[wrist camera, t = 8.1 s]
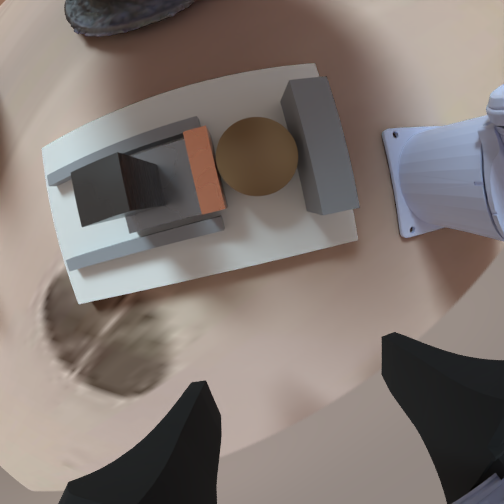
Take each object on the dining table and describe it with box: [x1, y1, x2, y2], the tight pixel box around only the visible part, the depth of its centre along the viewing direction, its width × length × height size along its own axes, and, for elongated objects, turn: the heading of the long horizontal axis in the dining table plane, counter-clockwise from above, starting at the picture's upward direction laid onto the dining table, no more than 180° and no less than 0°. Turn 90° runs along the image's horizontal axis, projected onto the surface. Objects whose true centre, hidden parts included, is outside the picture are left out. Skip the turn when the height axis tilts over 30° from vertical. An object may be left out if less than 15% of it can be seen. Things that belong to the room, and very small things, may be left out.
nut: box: [216, 117, 298, 196], centre depth 14 cm, size 4×4×3 cm
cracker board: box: [42, 63, 360, 304], centre depth 15 cm, size 20×12×5 cm, turn 103°
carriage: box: [71, 125, 228, 234], centre depth 13 cm, size 6×4×6 cm
